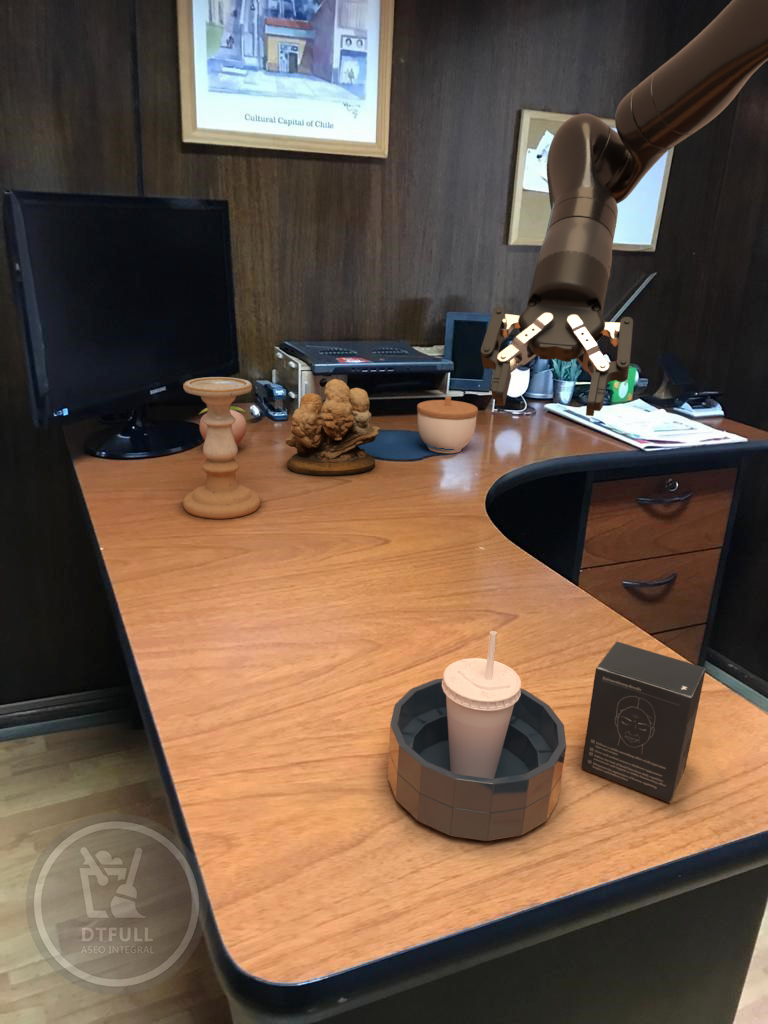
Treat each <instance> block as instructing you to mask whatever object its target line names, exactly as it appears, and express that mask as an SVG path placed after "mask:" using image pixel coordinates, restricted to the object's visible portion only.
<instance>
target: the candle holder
mask: <svg viewBox="0 0 768 1024" xmlns="http://www.w3.org/2000/svg"><path fill="white" fill-rule="evenodd" d="M182 385H183V386H182V388H183V390H184V392H185V393H187V394H189V395H192V396H198V397H200V398H201V401H202V402H203V403H205V406H206V408H208V412H207V415H206V416H205V417H204V418H203V422H204V423H205V424H206V425H207V432H206V438H205V440H204V442H203V444H202V445H203V446H202V454H203V456H204V457H205V458H207V459H206V460H204V462H203V463H202V465H201V469H202V470H203V471H204V473H205V474H206V482H205V483H206V484H203V485H200V486H198V487H196V488H195V489H194V490H193V491H190V492H189V493H187V494H186V495H185V496H184V498H183V500H182V506H183V510H185V512H187V513H188V514H190V515H193V516H196V517H198V518H203V519H213V520H214V519H215V520H217V519H219V520H222V519H224V520H225V519H233V518H239V517H243V516H247V515H250V514H252V513H254V512H255V511H257V510H258V509H259V508H260V506H261V497H260V495H259V494H258V492H255V491H254V490H252V489H250V488H248V487H247V486H245V485H242V484H240V483H237V478H236V473H237V472H238V470H239V469H240V463H239V462H238V461H237V460H236V459H235V457H236V456H237V454H238V452H239V449H238V444H236V442H235V439H234V435H233V431H232V424H234V423H235V418H234V417H233V416H232V415H231V413H230V406H232V403H234V402H235V401H236V397H238V396H239V397H240V396H243V395H246V394H248V393H250V392H251V391H252V389H253V384H252V382H251V381H250V380H247V379H243V378H238V377H228V376H208V377H207V376H206V377H196V378H192V379H189V380H185V381H184V382H183V384H182Z"/></svg>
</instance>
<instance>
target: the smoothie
mask: <svg viewBox="0 0 768 1024" xmlns="http://www.w3.org/2000/svg"><path fill="white" fill-rule="evenodd" d="M497 637H498V632H497V631H495V630H491V631H489V638H488V644H487V645H488V646H487V657H486V658H483V657H468V658H463V659H462V658H461V659H459V660H456V661H454V662H452V663H450V664H448V665H447V666H446V668H445V669H444V671H443V674H442V678H443V680H442V688H443V691H444V693H445V694H446V704H447V719H448V736H449V753H450V770H451V772H453V773H455V774H459V775H467V776H474V777H482V778H489V779H494V777H495V774H496V770H497V766H498V763H499V759H500V755H501V751H502V748H503V744H504V740H505V736H506V733H507V729H508V725H509V722H510V718H511V715H512V711H513V707H514V704H515V703H516V702H517V701H518V699H519V697H520V695H521V691H520V689H521V688H522V680H521V677H520V676H519V674H518V673H517V672H516V671H515V670H514V669H512V668H511V667H510V666H508V665H506V664H504V663H502V662H499V661H497V660H495V655H496V645H497Z"/></svg>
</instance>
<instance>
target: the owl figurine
mask: <svg viewBox="0 0 768 1024" xmlns="http://www.w3.org/2000/svg"><path fill="white" fill-rule="evenodd" d="M324 395H325V401H324V399H323V398H322V397H321V395H319V394H318V393H313V392H312V393H311V392H310V393H309V392H308V393H306V394H304V395H303V396H302V397H301V399H300V402H299V407H297V408H296V409H294V412H293V414H292V420H291V427H290V430H291V433H292V435H290V436H289V437H287V438H286V439H285V444H286V445H287V446H288V447H291V448H295V449H296V453H295V454H293V455H292V456H291V458H289V459H288V460H287V462H286V466H287V469H288V470H290V471H292V472H293V473H295V474H300V475H309V476H329V477H331V476H348V475H357V474H361V473H365V472H368V471H371V470H372V469H373V468H374V467H375V466H376V459H375V458H374V457H373V456H371V454H370V453H368V452H366V449H365V448H361V447H360V446H363V445H366V444H370V443H372V442H375V441H376V438H377V437H378V436H379V433H380V431H381V427H379V426H376V425H375V426H371V425H370V423H371V420H372V419H371V418H372V413H371V412H370V411H369V410H370V400H369V395H368V392H367V391H366V390H365V389H362V388H359V387H354V388H351V389H350V387H349V386H348V385H347V383H346V382H345V381H343V380H341V379H337V378H333V379H331V380H329V381H328V382H326V384H325V386H324Z"/></svg>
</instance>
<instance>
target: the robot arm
mask: <svg viewBox="0 0 768 1024" xmlns="http://www.w3.org/2000/svg"><path fill="white" fill-rule="evenodd" d="M767 61H768V0H731V1H730V2H729V4H727V5H726V7H724V8H723V10H722V11H720V13H719V14H717V16H716V17H715V18H714V19H713V20H712V21H711V22H710V23H709V24H708V25H707V26H706V27H705V28H703V29H702V30H701V32H700V33H698V35H696V36H695V37H693V39H692V40H690V41H689V42H688V43H687V44H686V45H685V46H684V47H682V48H681V50H679V51H678V52H677V53H675V54H674V55H673V56H672V57H671V58H669V59H668V60H667V61H666V62H664V63H663V64H662V65H661V66H659V67H658V68H657V69H656V70H655V71H654V72H652V73H651V74H650V75H648V76H647V77H646V78H645V79H644V80H642V81H641V82H640V83H639V84H638V85H636V86H635V87H634V88H633V89H631V90H630V91H629V92H628V93H627V94H626V95H625V96H624V97H623V98H621V101H620V102H619V103H618V105H617V107H616V109H615V110H616V111H615V114H614V115H615V116H614V120H615V121H614V124H615V125H614V126H615V129H616V130H615V129H614V128H612V127H611V126H609V125H608V124H607V123H606V122H605V121H604V120H603V119H601V118H600V117H597V116H596V115H594V114H591V113H579V114H576V115H573V116H571V117H570V118H568V119H567V120H565V121H564V122H563V123H562V124H561V125H560V127H559V128H558V129H557V131H556V132H555V134H554V135H553V138H552V140H551V143H550V145H549V148H548V151H547V158H546V180H547V188H548V198H549V205H550V215H549V220H548V224H547V229H546V232H545V237H544V239H543V242H542V244H541V246H540V249H539V253H538V257H537V260H536V265H535V269H534V273H533V278H532V282H531V285H530V286H531V287H530V290H529V291H530V292H529V295H528V300H527V304H526V307H525V309H524V310H523V312H521V314H520V315H519V314H510V313H506V310H505V308H504V307H502V306H497V307H495V308H494V309H493V310H492V313H491V316H490V320H489V322H488V326H487V328H486V332H485V335H484V338H483V341H482V343H481V347H480V356H481V363H482V367H483V368H484V369H485V370H490V369H492V370H494V372H493V378H492V381H491V385H490V390H491V396H492V397H491V398H492V400H495V401H496V406H501V407H505V405H506V402H507V397H508V393H509V388H510V383H511V380H512V373H513V372H514V371H515V370H517V369H518V368H519V367H521V366H525V365H527V364H528V363H529V362H530V361H532V360H533V359H534V358H535V357H538V358H539V360H544V361H545V360H546V361H548V360H558V361H561V362H567V363H571V362H572V360H577V362H578V363H579V365H580V366H581V368H582V369H583V370H584V371H585V372H587V373H588V374H589V375H590V378H591V379H590V383H589V384H590V385H589V390H588V395H587V399H586V400H587V401H586V406H585V407H586V409H585V416H589V417H594V415H595V412H600V411H601V410H602V409H603V407H604V401H605V396H606V388H607V386H608V384H609V383H610V382H614V381H616V382H619V383H625V382H626V381H628V379H629V372H630V371H629V369H630V365H631V354H632V345H633V343H632V342H633V332H634V331H633V330H634V319H633V318H632V317H630V316H624V317H622V318H621V319H620V321H619V322H617V321H616V322H614V321H613V322H612V321H605V319H604V318H603V314H604V313H603V312H604V308H605V307H604V306H605V303H606V302H605V301H606V297H607V296H606V295H607V291H608V284H609V281H610V279H611V269H612V262H613V244H614V240H615V239H614V238H615V233H616V228H617V223H618V216H619V215H618V212H619V208H618V204H620V203H621V202H623V201H624V200H626V199H627V198H628V197H629V195H631V193H632V192H633V191H634V190H635V189H636V187H637V186H638V185H639V183H640V182H641V181H642V179H643V178H644V177H645V176H646V175H647V174H648V172H649V171H650V170H651V169H652V168H653V167H654V166H655V164H657V162H658V161H659V160H660V159H661V158H662V157H663V156H664V155H665V154H666V153H667V152H668V151H670V150H671V149H673V148H674V147H676V146H677V145H679V144H680V143H682V142H683V141H685V140H686V139H687V138H689V137H690V136H692V135H693V134H695V133H696V132H698V131H700V129H702V128H703V127H705V126H707V125H708V124H709V123H710V122H711V121H713V120H714V119H715V118H717V117H718V115H720V114H721V113H722V112H723V111H724V110H725V109H726V108H727V107H728V106H729V105H730V104H731V102H732V101H733V100H734V99H735V98H736V96H737V95H738V94H739V92H740V91H741V89H742V88H743V87H744V86H745V85H746V83H747V81H748V80H749V79H750V78H751V77H752V76H753V74H754V73H755V72H757V70H759V68H760V67H762V65H763V64H765V63H766V62H767ZM515 329H518V331H519V333H518V334H517V335H515V336H514V338H513V339H512V342H511V343H510V344H508V346H506V347H505V348H503V349H502V350H501V351H500V349H501V345H502V343H503V339H504V338H508V336H509V335H510V334H511V332H513V330H515ZM605 336H606V337H608V338H609V343H610V344H611V345H612V346H613V347H615V348H616V347H617V349H616V360H614V361H608V360H607V358H606V356H604V355H603V353H602V352H601V350H600V347H599V344H598V342H600V341H601V340H602V338H603V337H605Z"/></svg>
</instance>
